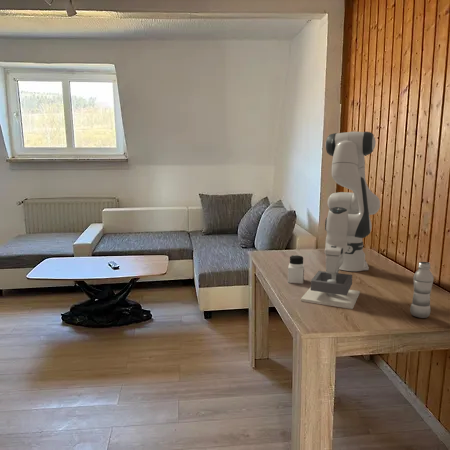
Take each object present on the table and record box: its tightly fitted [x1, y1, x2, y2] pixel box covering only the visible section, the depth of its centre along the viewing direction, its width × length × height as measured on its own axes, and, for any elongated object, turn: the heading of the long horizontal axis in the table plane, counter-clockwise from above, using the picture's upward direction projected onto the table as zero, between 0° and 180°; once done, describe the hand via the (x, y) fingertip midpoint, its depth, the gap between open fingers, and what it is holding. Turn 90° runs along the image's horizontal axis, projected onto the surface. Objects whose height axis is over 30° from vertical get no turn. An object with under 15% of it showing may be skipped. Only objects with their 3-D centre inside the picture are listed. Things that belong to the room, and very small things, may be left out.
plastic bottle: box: [409, 261, 435, 319], centre depth 146 cm, size 6×7×20 cm
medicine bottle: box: [287, 254, 305, 285], centre depth 188 cm, size 7×7×12 cm
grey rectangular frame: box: [310, 270, 353, 295], centre depth 167 cm, size 14×14×4 cm
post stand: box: [300, 279, 361, 310], centre depth 167 cm, size 20×20×7 cm
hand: (334, 278), depth 172 cm, fingers closed on grey rectangular frame
